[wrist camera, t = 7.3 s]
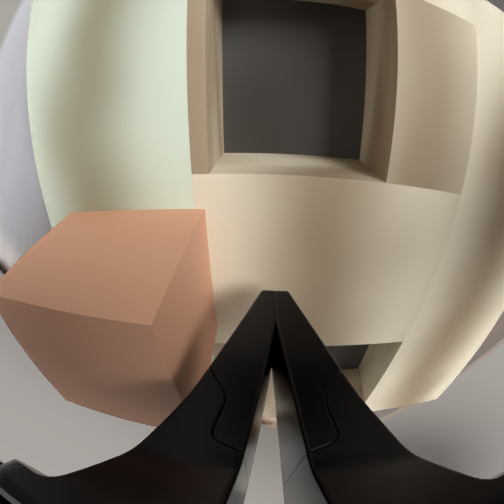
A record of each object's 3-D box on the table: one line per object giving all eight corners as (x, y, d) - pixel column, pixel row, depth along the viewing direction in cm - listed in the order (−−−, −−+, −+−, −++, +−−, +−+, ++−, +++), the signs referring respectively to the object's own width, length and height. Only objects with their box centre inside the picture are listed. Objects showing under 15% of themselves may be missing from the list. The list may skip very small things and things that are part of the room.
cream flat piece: (523, 58, 5) (563, 65, 3) (425, 367, 17) (436, 398, 14) (76, 10, 6) (31, 2, 4) (148, 366, 18) (136, 400, 15)
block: (205, 208, 8) (151, 325, 4) (217, 328, 11) (197, 434, 7) (71, 212, 8) (-12, 293, 4) (107, 316, 11) (65, 399, 7)
